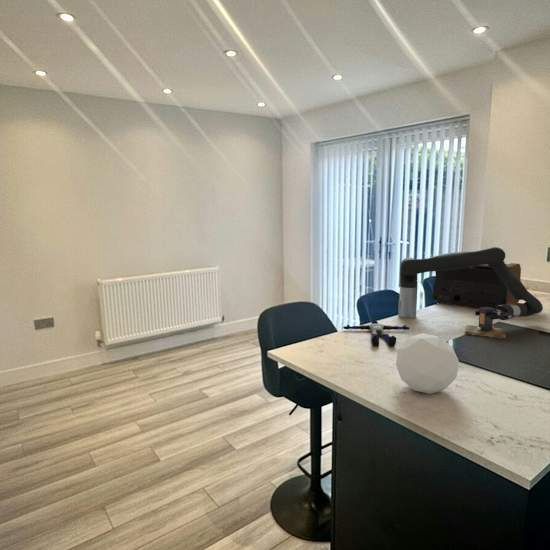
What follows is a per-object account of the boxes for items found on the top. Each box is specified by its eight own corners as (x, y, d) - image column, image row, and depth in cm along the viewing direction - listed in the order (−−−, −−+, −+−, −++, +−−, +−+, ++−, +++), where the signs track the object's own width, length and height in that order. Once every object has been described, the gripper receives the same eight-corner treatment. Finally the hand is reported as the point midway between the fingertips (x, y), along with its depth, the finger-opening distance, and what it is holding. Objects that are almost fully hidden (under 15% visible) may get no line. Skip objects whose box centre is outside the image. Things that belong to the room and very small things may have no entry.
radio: (424, 304, 252) (426, 261, 247) (447, 295, 274) (449, 256, 269) (502, 316, 219) (505, 267, 215) (520, 306, 241) (524, 261, 237)
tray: (464, 334, 190) (465, 327, 190) (466, 327, 201) (466, 320, 200) (505, 338, 182) (506, 331, 182) (504, 331, 193) (505, 324, 192)
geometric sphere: (409, 408, 135) (373, 359, 137) (441, 375, 144) (408, 329, 146) (448, 404, 118) (407, 348, 120) (482, 366, 127) (444, 315, 130)
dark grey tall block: (485, 328, 194) (487, 306, 192) (492, 330, 191) (493, 308, 189) (478, 329, 192) (479, 307, 190) (484, 331, 189) (485, 309, 187)
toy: (346, 335, 176) (342, 316, 206) (346, 348, 177) (342, 327, 207) (422, 336, 173) (406, 316, 202) (422, 349, 174) (406, 328, 203)
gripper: (495, 301, 201) (471, 304, 195) (521, 307, 188) (496, 311, 182) (494, 315, 202) (470, 319, 197) (520, 322, 189) (495, 326, 183)
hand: (483, 315), depth 189 cm, fingers open, 8 cm apart
